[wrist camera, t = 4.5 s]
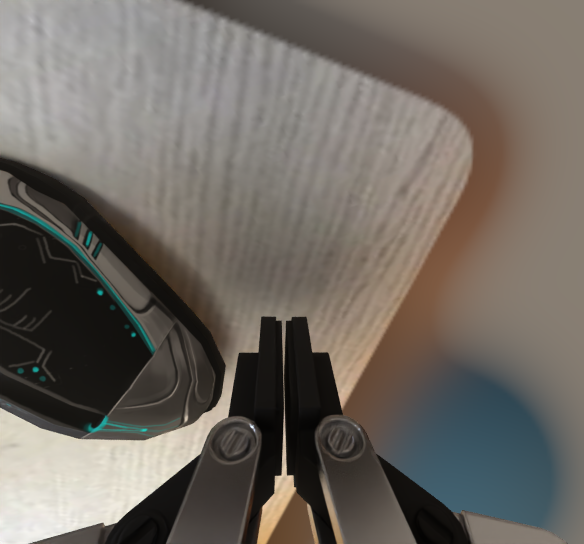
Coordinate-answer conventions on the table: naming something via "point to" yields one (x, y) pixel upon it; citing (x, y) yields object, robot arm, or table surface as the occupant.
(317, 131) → the table surface
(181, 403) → the computer mouse
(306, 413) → the robot arm
